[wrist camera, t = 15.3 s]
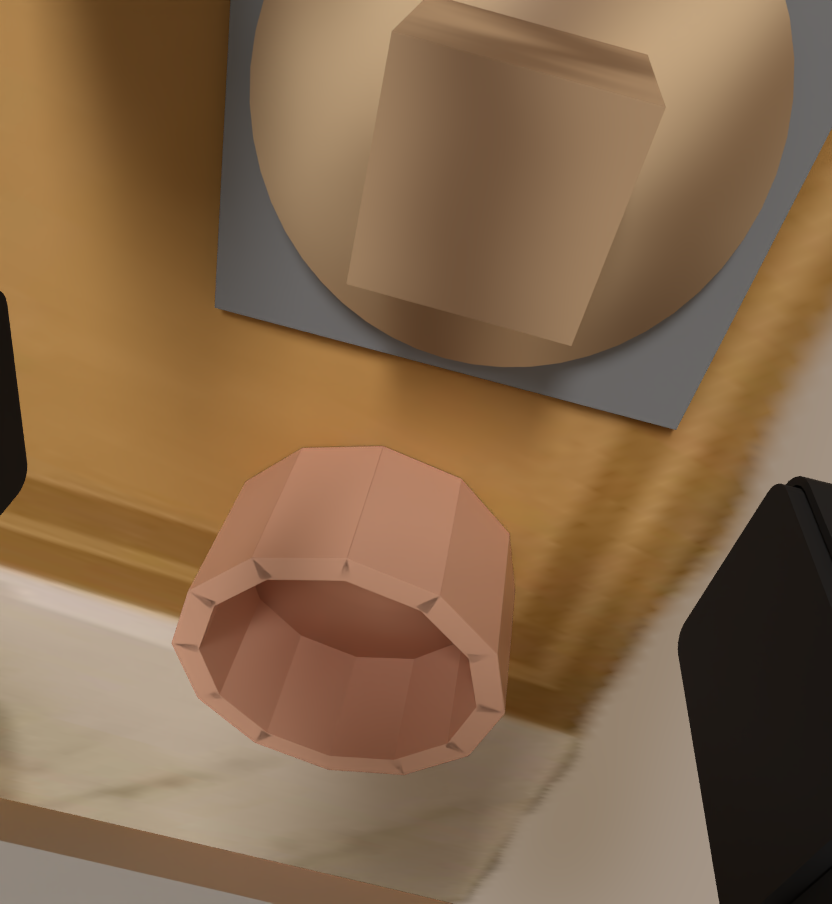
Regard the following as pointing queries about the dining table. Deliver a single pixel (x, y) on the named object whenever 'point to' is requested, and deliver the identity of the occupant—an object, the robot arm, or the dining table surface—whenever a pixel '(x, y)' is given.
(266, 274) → the mat
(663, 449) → the dining table surface
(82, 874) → the robot arm
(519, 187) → the lid
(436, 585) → the bowl
